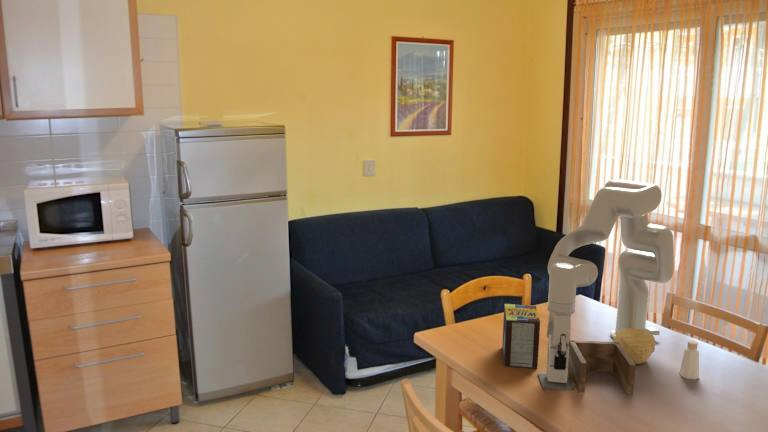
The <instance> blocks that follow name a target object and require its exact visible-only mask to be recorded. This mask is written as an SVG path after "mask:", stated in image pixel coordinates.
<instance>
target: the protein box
mask: <svg viewBox="0 0 768 432" xmlns="http://www.w3.org/2000/svg"><path fill="white" fill-rule="evenodd" d="M502 324H503V326H502V327H503V328H502V345H501V347H502V356H503V358H502V359H503V366H504V367H512V368H527V369H538V366H539V365H538V364H539V349H540V336H541V335H540V334H541V333H540V330H541V319H540V316H539V312H538V309H537V305H531V304H513V303H504V307H503V323H502Z"/></svg>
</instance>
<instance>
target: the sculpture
mask: <svg viewBox="0 0 768 432" xmlns="http://www.w3.org/2000/svg"><path fill="white" fill-rule="evenodd" d="M612 342H619V343H620V345H621V346H622V347H623V349H624V350H625V351H626V353H627V354H628V355H629V357H630V358H631V360H632V361H633V362H634V364H635V365H640V364H643V363H645V362H646V361H648V360H649V359H650V357H651V356H652V354H653V353H654V352H655V349H656V348H655V347H656V344H657V342H656V338H655V335H652V334H650V333H648V332H646V331H644V330H643V329H635V328H626V329H623V330H621V331H619V332H618V333H617V334H616V336H615V338H613V341H612Z"/></svg>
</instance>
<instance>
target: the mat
mask: <svg viewBox="0 0 768 432" xmlns="http://www.w3.org/2000/svg"><path fill="white" fill-rule="evenodd" d="M537 377H538V379H539V382H540V385H541V387H542V389H543V390H553V391H555V390H557V391H576V390H575V389H576V388H575V385H574V384H573V382H572V380H571V379H572V378H570V376H569V374H568V378H567V383H559V382H550V381H548V380H547V373H542V372H541V373H537Z"/></svg>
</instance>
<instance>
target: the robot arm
mask: <svg viewBox="0 0 768 432" xmlns="http://www.w3.org/2000/svg"><path fill="white" fill-rule="evenodd" d="M662 195H663V194H662V189H661V188H660V187H659V186H658V185H657V184H655V183H649V182H640V181H632V180H624V179H611V180H608V181H607V182H606V183H605V184H604V187H602V188H600V189H599V190H598V191H597V192H596V194H595V196H594V197H593V200H592V202H591V205H590V207H589V209H588V211H587V213H586V215H585V217H584V220H583V221H582V224H581V225H580V226H578V227H576V228H574V229H573V230H571V231H570V232H569V233H567V234H565V236H563V237H562V238H560V240H559V241H558V242H557V244H556V245H555V246H554V249H553V251H552V253H551V255H550V258H549V260H548V262H547V263H548V264H547V273H548V275H549V277H548V278H549V281H548V296H547V298H548V299H547V312H548V318H547V319H548V320H547V326H546V327H547V330H546V337H547V339H549V333H550V334H551V346H552V347H556V356H555V358H554V369H556V370H565V369H566V347H567V348H568V347H569V344H570V340H571V329H572V328H571V327H572V315H573V314H575V311H576V308H575V307H576V297H577V296H576V295H577V294H576V293H577V288H580V287H588V286H591V285H592V284H593V283H594V282H596V280H597V278H598V276H599V270H598V266H597V265H596V263H594V262H592V261H590V260H586V259H581V258H578V257H577V258H576V257H572V256H569V255H570V254H571V253H572V252H573V251H574V250H576V249H579V248H580V247H583V246H587V245H591V244H596V243H599V242H603V241H606V240H608V238H609V237H610V235H611V233H612V231H613V228H614V226H615V223H616V222H617V219H618V218H619V217H620V228H621V229H620V232H621V233H620V234H621V241H622V244H623V245H624V247H626V248H627V249H626V250H624V251H622V252H621V253H620V255H619V257H618V263H617V265H618V272H619V273H618V274H619V286H618V287H619V289H618V299H617V309H616V321H615V328H614V329H611V331H610V336H611V338H612V339H614V338H615V336H616V334H617V333H618V332H619V331H621V330H623V329H626V328H635V329H643V330H644V331H646V332H648V333H650V334H652V335H653V336H660V334H661V333H660V332H661V331H660V330H659V329H654V328H653V327H648V326H646V324H647V323H646V322H647V312H648V304H649V295H650V293H649V287H648V284H647V283H646V281H648V282H653V283H659V284H666V283H668V282H670V281H671V280H672V278H673V276H674V272H675V271H674V270H675V256H674V255H675V252H674V251H675V249H674V247H675V246H674V244H675V243H674V235H673V232H672V230H671V229H670V228H669V227H667V226H665V225H661V224H656V223H655V224H654V223H651V222H650V221H649V213H651V212H654V211H655V210H656V209H657V208H658V207H659V205H660V204H661V201H662V198H663V197H662ZM566 343H567V344H568V345H567V344H566ZM558 344H561V346H558ZM558 348H561V350H559V352H558Z"/></svg>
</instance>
